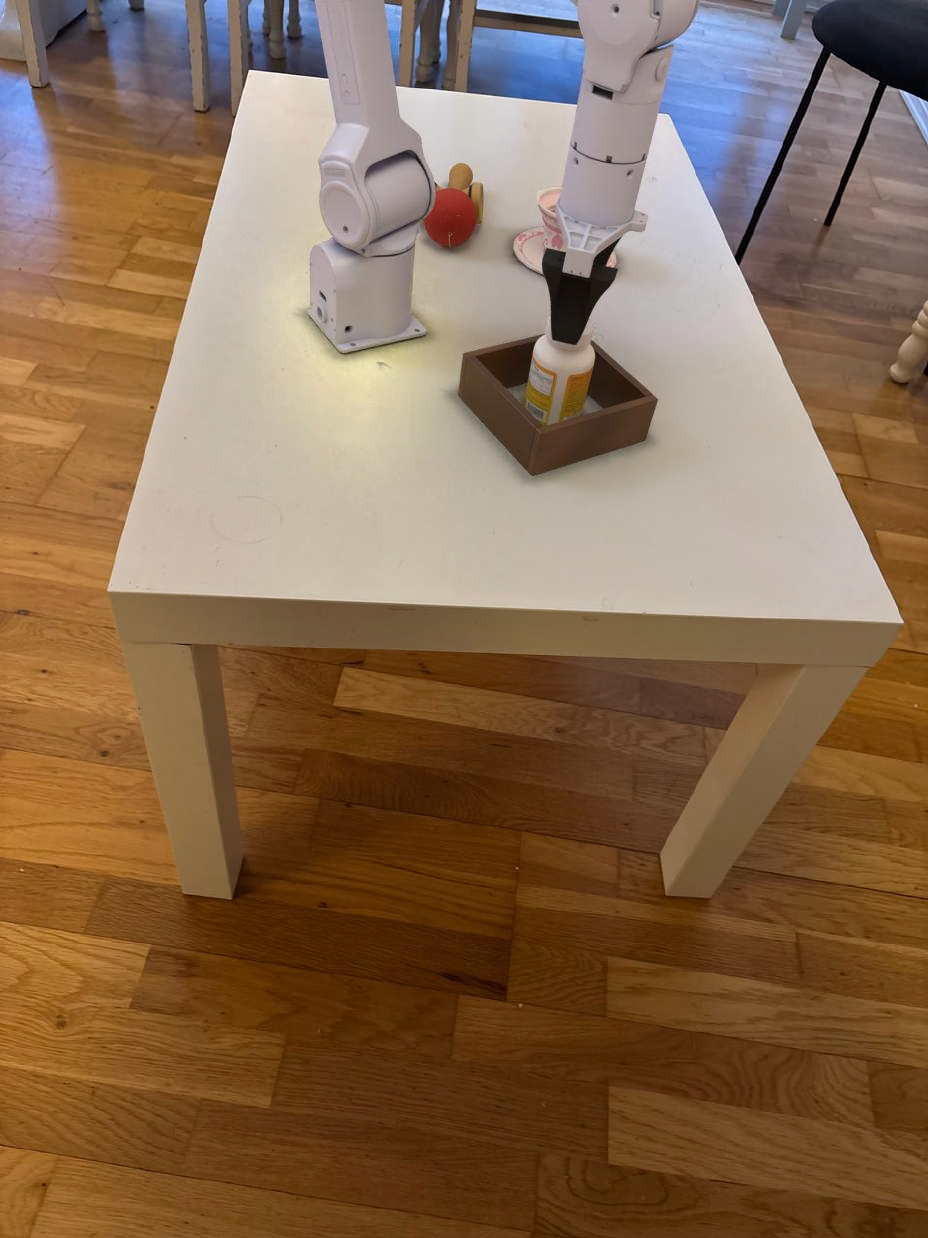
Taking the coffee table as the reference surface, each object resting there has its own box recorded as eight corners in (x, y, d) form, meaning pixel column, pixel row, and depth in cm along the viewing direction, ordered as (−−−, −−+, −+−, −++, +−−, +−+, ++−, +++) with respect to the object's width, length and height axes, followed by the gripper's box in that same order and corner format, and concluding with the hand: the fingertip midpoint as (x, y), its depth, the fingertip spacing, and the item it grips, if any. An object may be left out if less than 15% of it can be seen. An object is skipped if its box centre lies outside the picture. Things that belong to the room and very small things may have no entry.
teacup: (493, 258, 103) (501, 203, 98) (540, 221, 110) (549, 168, 105) (589, 294, 99) (602, 239, 95) (631, 253, 107) (644, 201, 102)
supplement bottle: (580, 404, 86) (602, 310, 78) (579, 439, 82) (603, 344, 75) (523, 396, 86) (540, 301, 78) (520, 430, 82) (538, 334, 75)
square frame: (531, 476, 78) (540, 433, 75) (457, 395, 85) (462, 352, 81) (645, 440, 83) (658, 399, 80) (567, 366, 90) (576, 325, 86)
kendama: (421, 193, 114) (405, 240, 101) (435, 140, 110) (420, 182, 97) (480, 213, 115) (472, 263, 102) (496, 162, 111) (490, 206, 98)
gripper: (652, 199, 61) (607, 374, 71) (672, 123, 70) (630, 287, 81) (549, 177, 62) (519, 353, 72) (583, 105, 71) (552, 269, 81)
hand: (572, 317), depth 76 cm, fingers open, 7 cm apart
